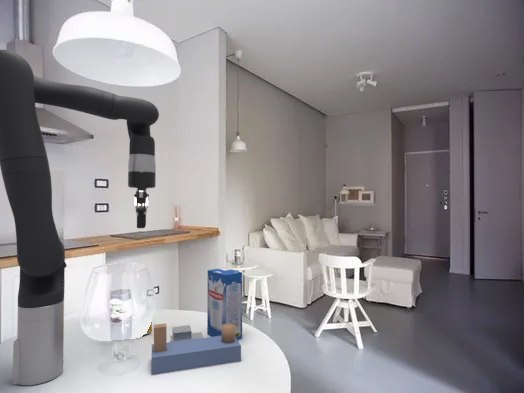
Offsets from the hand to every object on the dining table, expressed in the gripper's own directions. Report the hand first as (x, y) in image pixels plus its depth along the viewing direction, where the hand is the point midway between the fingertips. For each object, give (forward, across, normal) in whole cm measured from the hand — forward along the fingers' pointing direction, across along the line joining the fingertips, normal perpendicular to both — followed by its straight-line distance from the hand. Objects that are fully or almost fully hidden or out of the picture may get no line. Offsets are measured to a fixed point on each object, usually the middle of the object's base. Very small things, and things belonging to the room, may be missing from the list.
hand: (141, 227), depth 96 cm
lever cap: (+34, +2, +13) cm, 37 cm away
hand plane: (+34, +14, +14) cm, 39 cm away
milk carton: (+34, +1, +24) cm, 42 cm away
